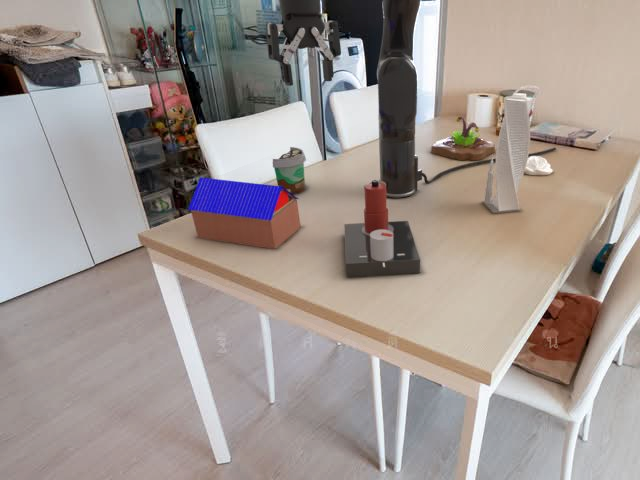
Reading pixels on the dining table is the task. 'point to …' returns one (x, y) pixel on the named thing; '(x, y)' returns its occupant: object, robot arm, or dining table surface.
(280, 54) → the robot arm
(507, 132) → the skyscraper
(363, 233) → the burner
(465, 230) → the dining table surface
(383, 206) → the red cylindrical canister
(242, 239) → the house
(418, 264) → the hob
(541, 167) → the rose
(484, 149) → the plant
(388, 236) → the hob knob
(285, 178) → the food container
